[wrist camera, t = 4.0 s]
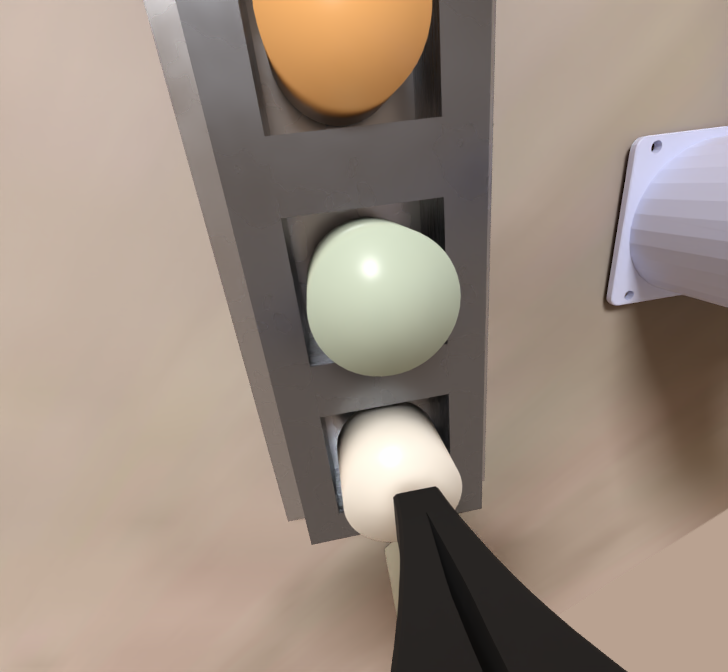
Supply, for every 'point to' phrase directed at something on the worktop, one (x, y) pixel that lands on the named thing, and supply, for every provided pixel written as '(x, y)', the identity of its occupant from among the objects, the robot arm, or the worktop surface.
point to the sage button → (380, 296)
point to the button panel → (325, 212)
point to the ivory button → (390, 465)
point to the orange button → (342, 52)
